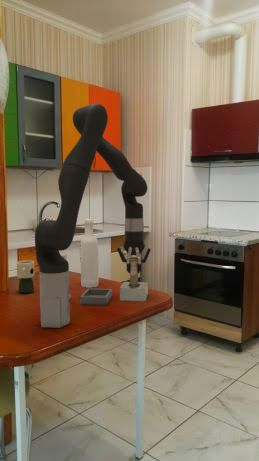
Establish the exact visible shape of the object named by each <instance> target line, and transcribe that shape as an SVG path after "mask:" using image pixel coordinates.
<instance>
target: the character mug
mask: <svg viewBox="0 0 259 461" xmlns="http://www.w3.org/2000/svg"><path fill="white" fill-rule="evenodd" d="M35 274H36V273H35V261H34V260H20V261H17V262H16V277H17V278H19V282H18V292H19V293H25V294H27V293H33V292H34V291H35V286H34V281H33V277H35V276H36V275H35Z"/></svg>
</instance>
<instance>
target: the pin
mask: <svg viewBox="0 0 259 461" xmlns="http://www.w3.org/2000/svg"><path fill="white" fill-rule="evenodd" d="M129 261H130V273H129V282H130V286H134V287H138V282H139V273H138V259H137V256H131V258H130V259H129Z"/></svg>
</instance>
